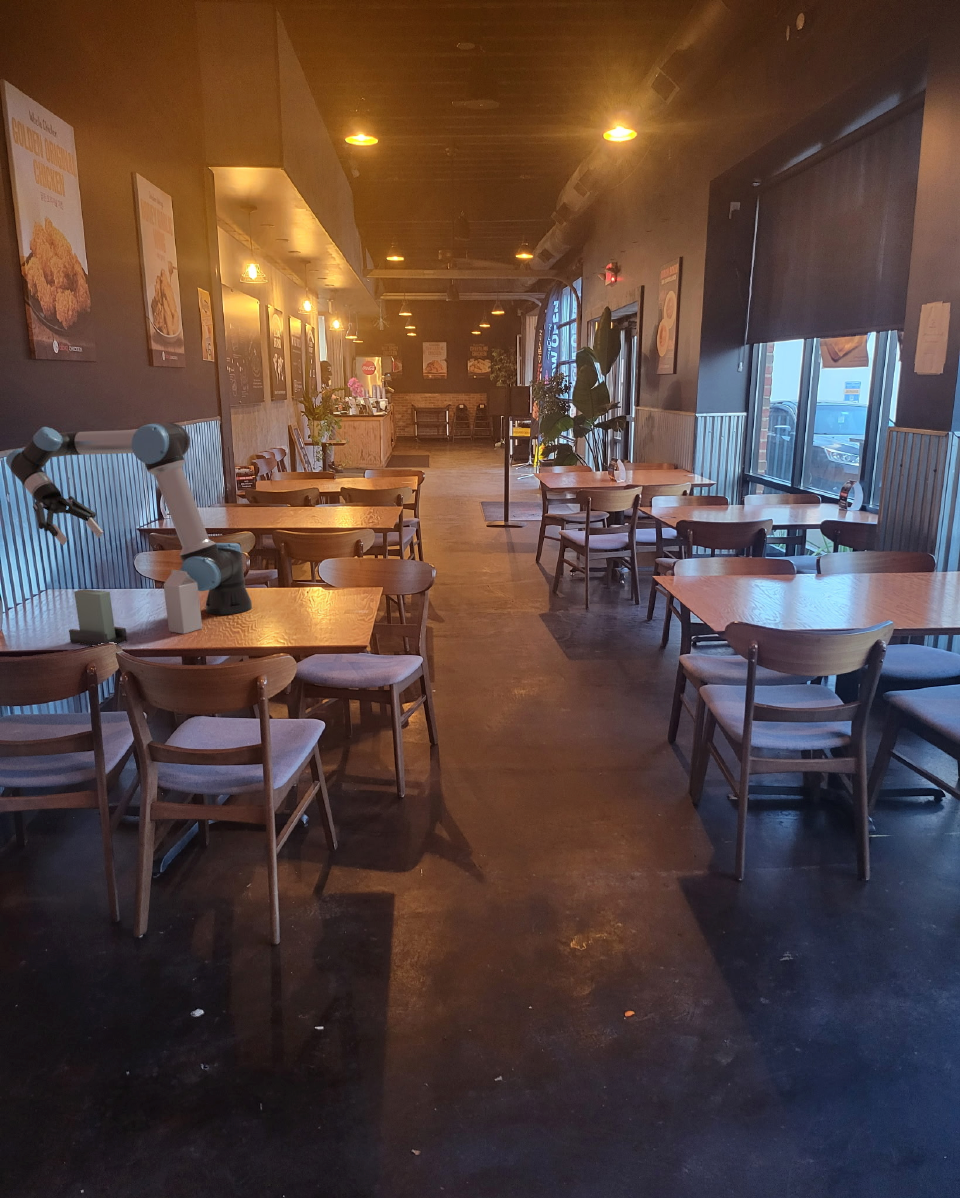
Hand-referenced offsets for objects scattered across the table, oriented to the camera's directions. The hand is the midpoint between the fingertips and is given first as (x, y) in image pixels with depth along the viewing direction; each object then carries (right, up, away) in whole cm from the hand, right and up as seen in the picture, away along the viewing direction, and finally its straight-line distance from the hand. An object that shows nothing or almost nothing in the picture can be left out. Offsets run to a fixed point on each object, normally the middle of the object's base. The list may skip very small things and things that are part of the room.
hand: (83, 538), depth 269 cm
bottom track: (+11, -32, -14) cm, 37 cm away
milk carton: (+34, -29, -4) cm, 45 cm away
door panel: (+11, -31, -14) cm, 35 cm away
